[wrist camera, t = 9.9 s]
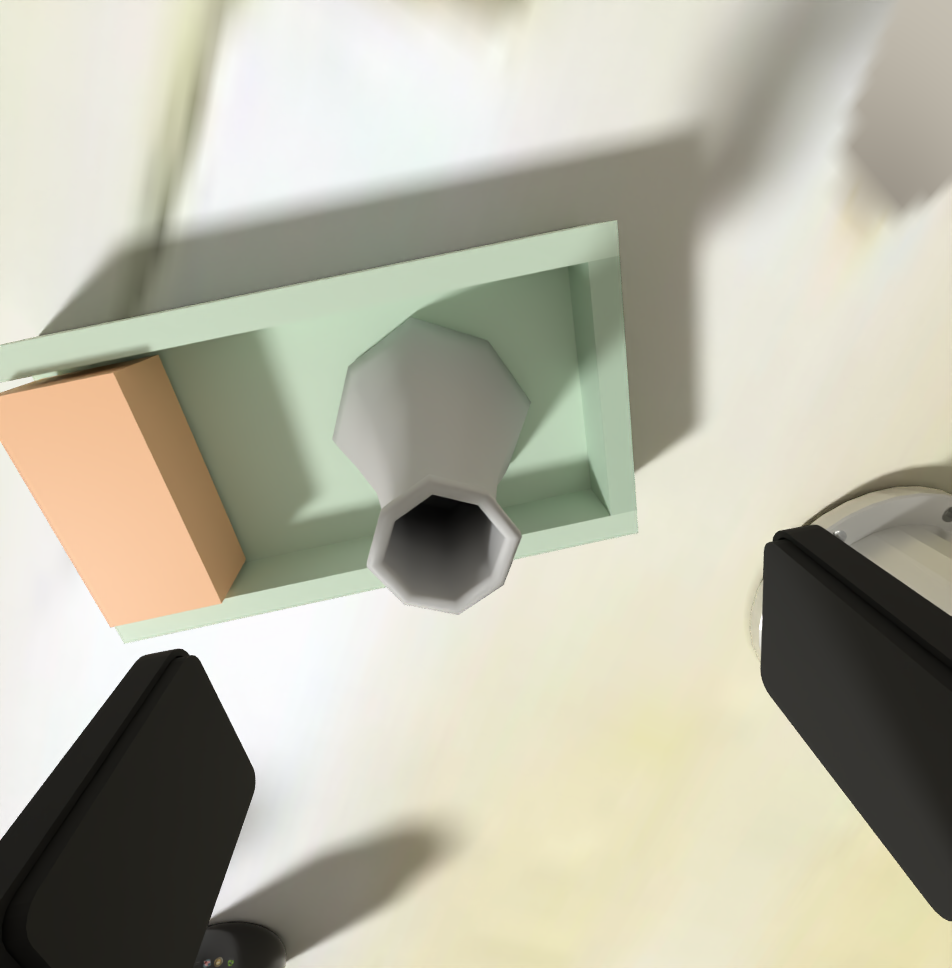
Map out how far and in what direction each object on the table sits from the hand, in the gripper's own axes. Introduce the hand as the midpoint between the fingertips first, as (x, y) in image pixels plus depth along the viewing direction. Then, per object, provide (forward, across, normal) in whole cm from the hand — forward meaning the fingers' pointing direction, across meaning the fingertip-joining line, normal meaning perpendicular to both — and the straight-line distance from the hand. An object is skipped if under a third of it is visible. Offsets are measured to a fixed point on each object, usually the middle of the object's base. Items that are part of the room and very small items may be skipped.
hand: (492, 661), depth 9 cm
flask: (+13, +1, -1) cm, 13 cm away
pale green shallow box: (+14, +4, -1) cm, 15 cm away
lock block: (+12, +12, -1) cm, 17 cm away
